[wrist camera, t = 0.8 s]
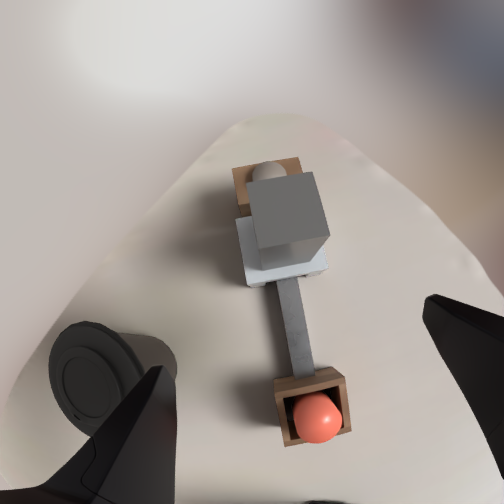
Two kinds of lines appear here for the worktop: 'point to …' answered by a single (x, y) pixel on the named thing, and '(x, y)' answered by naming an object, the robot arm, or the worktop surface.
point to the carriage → (283, 230)
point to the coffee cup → (100, 370)
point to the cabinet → (306, 385)
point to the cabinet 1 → (261, 177)
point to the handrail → (295, 328)
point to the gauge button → (316, 417)
